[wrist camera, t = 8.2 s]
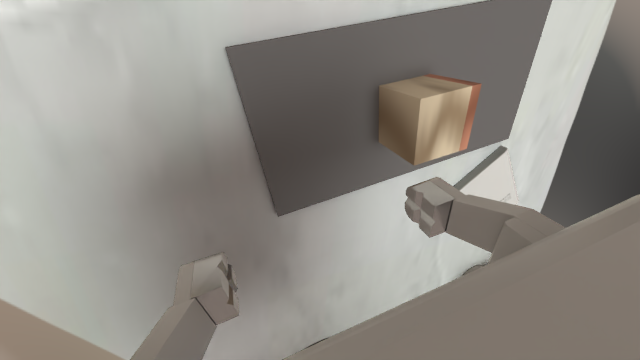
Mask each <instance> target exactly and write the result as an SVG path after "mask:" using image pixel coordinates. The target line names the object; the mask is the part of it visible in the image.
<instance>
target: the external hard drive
mask: <svg viewBox="0 0 640 360" xmlns="http://www.w3.org/2000/svg"><path fill="white" fill-rule="evenodd" d="M453 187H454V188H456V189H457V190H459V191H460V192H462V193H463V194H465V195H468V194H470V195H474V196H479V197H483V198H487V199H492V200H496V201H500V202H505V203H509V204H513V205H516V204H517V203H518V201H519V199H518V195H517V190H516V185H515V180H514V175H513V171H512V166H511V161H510V157H509V153H508V148H506V147H503V146H500V147H499V148H498V149H496V150H495V151H494V152H493V153H492V154H491V155H489V156H488V157H487V158H486V159H485V160H484V161H482V162H481V163H480V164H479V165H478V166H477V167H475V168H474V169H473V170H472V171H471V172H470V173H468V174H467V175H466V176H465V177H464V178H463V179H461V180H460V181H459V182H458V183H457V184H456V185H454V186H453Z"/></svg>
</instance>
